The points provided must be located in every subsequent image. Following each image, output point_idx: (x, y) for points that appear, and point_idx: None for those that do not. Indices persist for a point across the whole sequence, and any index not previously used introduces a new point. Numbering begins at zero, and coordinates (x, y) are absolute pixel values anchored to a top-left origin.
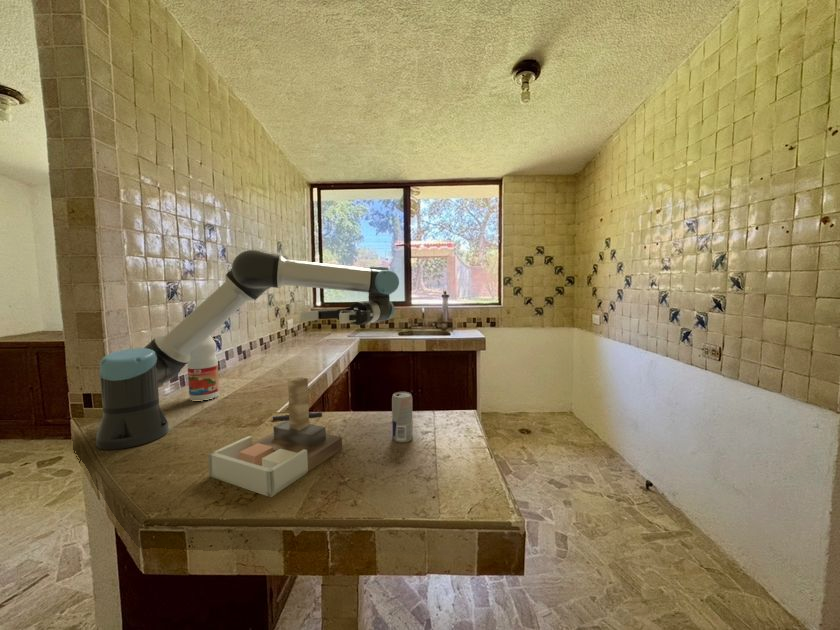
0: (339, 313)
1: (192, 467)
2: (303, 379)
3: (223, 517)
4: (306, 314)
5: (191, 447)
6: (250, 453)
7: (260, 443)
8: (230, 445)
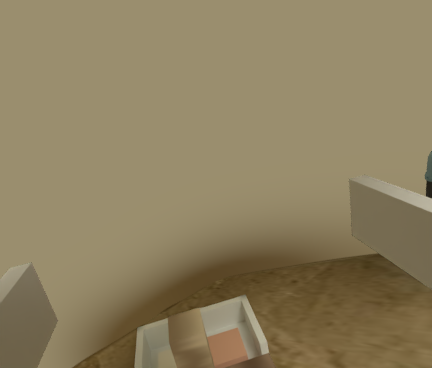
0: (28, 263)
1: (292, 309)
2: (169, 331)
3: (162, 314)
4: (375, 206)
5: (370, 317)
6: (220, 336)
7: (256, 365)
8: (250, 315)
